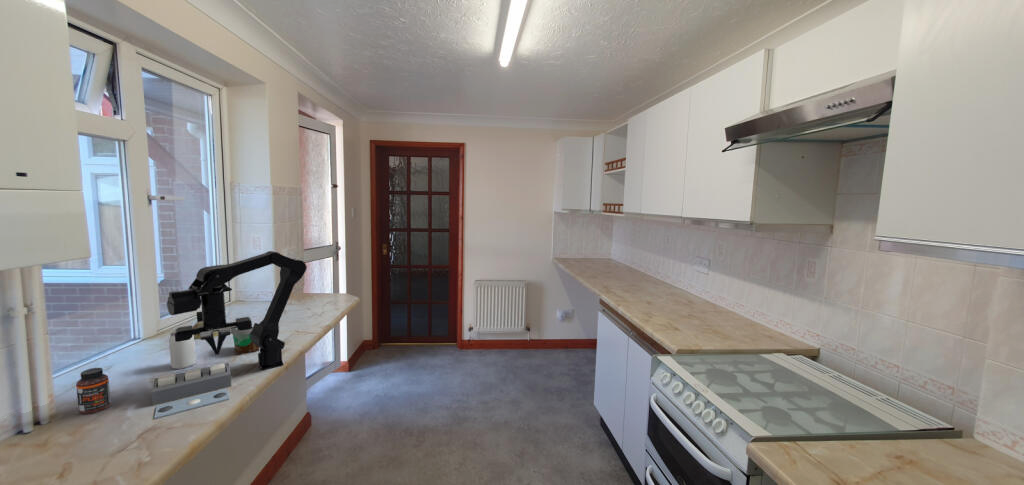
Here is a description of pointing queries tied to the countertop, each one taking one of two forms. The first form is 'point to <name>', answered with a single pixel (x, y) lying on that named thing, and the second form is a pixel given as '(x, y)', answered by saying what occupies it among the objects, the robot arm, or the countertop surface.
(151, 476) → the countertop surface
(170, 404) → the pattern card
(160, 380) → the button
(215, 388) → the button board
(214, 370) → the button
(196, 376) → the button middle
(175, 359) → the can
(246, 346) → the food container
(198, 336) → the ceramic model
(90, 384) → the supplement bottle
